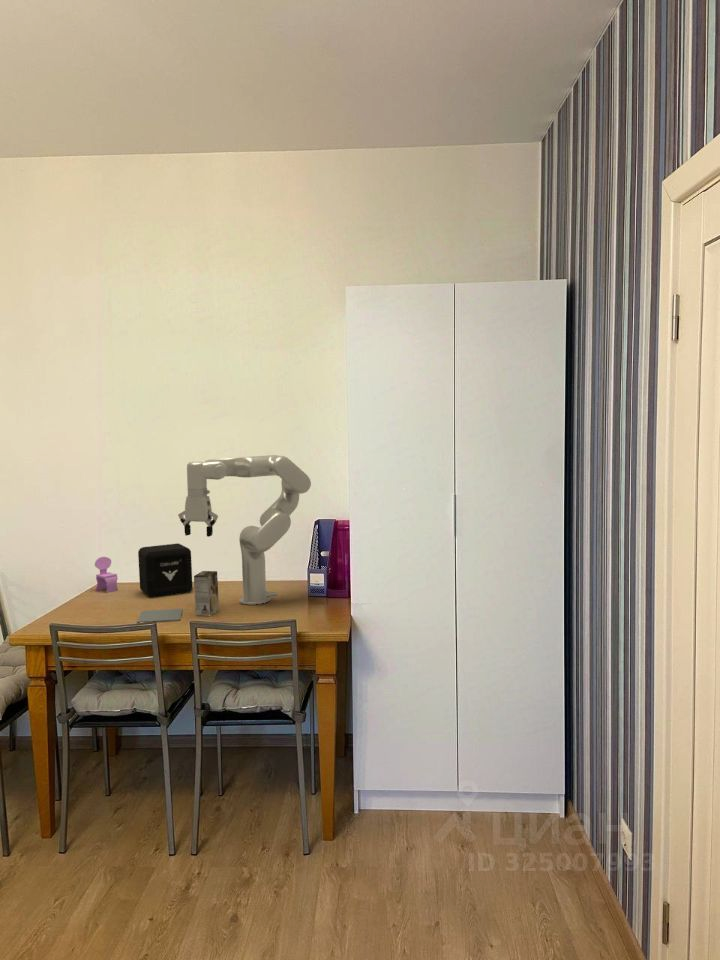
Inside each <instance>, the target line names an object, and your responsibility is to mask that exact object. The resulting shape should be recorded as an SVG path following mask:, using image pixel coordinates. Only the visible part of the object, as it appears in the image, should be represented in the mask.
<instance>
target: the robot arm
mask: <svg viewBox="0 0 720 960" xmlns="http://www.w3.org/2000/svg"><path fill="white" fill-rule="evenodd" d="M270 476H272V477H274V476H276V477H279V478H280V479H281V481H280V482H281V493H280V495H279V497H278V498H277V499H276V500H275V501H274V502H273V503H272V504H271V505H270V506H269V507H268V508H267V509H265V510H264V511H263V513H262V514H261V515H260V516H259V524H260V527H259V526H256V525H255V526H254V525H248V526H246V527H243V528H242V529H241V531H240V534H239V547H240V551H241V569H242V571H241V572H242V576H241V577H242V592H243V593H242V597H240V598H239V603H240V604H243V605H249V606H251V605H254V606H255V605H256V604H257V605H262V603H264V604H267V603H269V602H270V601H271V597H278V591H274V590H270V591H269V590H268V589H267V579H266V578H267V576H266V554H265V552H267V551H269V550H270V549H271V548H273V547H274V546H275V545H276V543H278V542H279V540H281V539H282V538H283V537H284V536H285V535H286V534H287V532H289V529H290V527H291V524H292V520H291V515H292V514H293V513H294V512H295V510H296V509H297V507H298V505H299V501H300V494H301V495H302V494H305V493H307V492H309V490H310V488H311V486H312V482H311V479H310V477H309V475H308V474H307V473H306V472H305V471H303V470H302V469H301V468H300V467H299V466H298V465H296V463H294V462H293V461H292V460H291V459H290V458H288V457H287V456H284V455H277V454H272V455H269V454H268V455H257V456H256V455H255V456H254V455H253V456H243V457H242V456H239V457H231V458H230V457H228V458H213V459H212V458H211V459H207V460H205V461H190V462H188V463H187V464H186V479H187V480H186V482H187V483H186V485H187V486H186V487H187V496H186V497H185V502H184V503H185V504H184V511H182V512H180V513H178V514H177V515H178V519H179V521H180V522H181V523H182V525H183V526H184V527H183V528H184V535H185V536H186V537H187V536H190V535H191V534H192V533H191V527H192V526H191V524H190V523H191V522H195V523H196V522H201V523H203V522H204V523H205V524H206V525H207V526H206V537H211V536H213V529H214V528H213V526H215V524H216V523H217V521H218V518H219V515H218V514H216V513H214V512H213V509H212V503H211V499H210V493H211V492H210V490H208V482H207V480H216V481H217V480H222V479H224V478H225V477H235V478H236V477H238V478H258V477H259V478H260V477H270ZM208 494H209V495H208ZM268 601H269V602H268ZM266 602H267V603H266Z"/></svg>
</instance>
